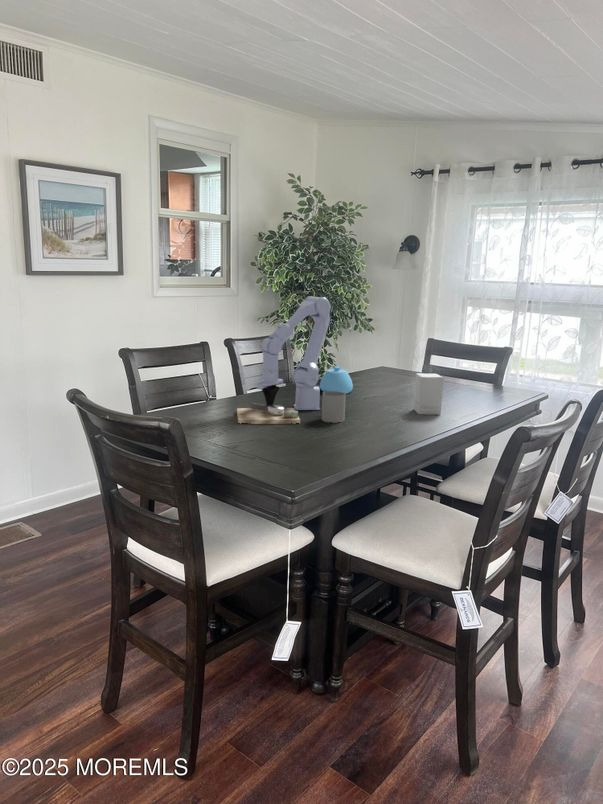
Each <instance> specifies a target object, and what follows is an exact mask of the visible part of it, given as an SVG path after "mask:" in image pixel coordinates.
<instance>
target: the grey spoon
mask: <svg viewBox="0 0 603 804" xmlns="http://www.w3.org/2000/svg"><path fill="white" fill-rule="evenodd" d="M250 408H251V409H256V410H262V411H267V412H268V414H269V415H283V414H284V408H285V407H284V406H283V405H278V404H277V405H275V404H273V405H272V406H270V405H267V404H262V403H256V402H251V403H250Z"/></svg>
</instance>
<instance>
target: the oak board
mask: <svg viewBox="0 0 603 804" xmlns="http://www.w3.org/2000/svg"><path fill="white" fill-rule="evenodd" d="M236 414H237V415H236V416H237V424H238V423H240V424H239V425H242V424H241V423H248V424H247V425H272V424H273V425H279V424H281V425H284V424H285V425H286V424H287V425H291V423H292V425H293V424H294V425H295V424H296V423H299V424H301V418H300V416H299V410H296V409H295V407H284V414H283V415H269V414H268V412H267V411H262V410H256V409H251V407H244V408H243V407H237V408H236ZM249 423H250V424H249Z"/></svg>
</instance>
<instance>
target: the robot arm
mask: <svg viewBox="0 0 603 804" xmlns="http://www.w3.org/2000/svg"><path fill="white" fill-rule="evenodd" d="M331 309H332V305H331V303H330V301H329V299H328V298H327V297H324V296H322V297H320V296H312V295H308V296H306V297H305V298H304V300H303V301H301V302H300V305H299V306H298V308H297V310H296V311H295V312H294V313H293V314H292V315H291V317H290V318H289V319H288V320H287V322H285V323H284V322H283V323H280V324H278V325H277V326H276V327H277V328H276V329H275V330H274V331H273V332H272V333H271V334H269V335H268V337H267V338H264V339H263V340H262V342H261V344H260V345H259V347H260V348H259V349H260V350H261V351H262V379H261V380H260V382H258V383H257V384H256V390H261V391H262V393H263V395H264V396H263V397H264V398H265V402H266V403H265V404H266V405H269V406H272V405H274V403H275V399H276V397H277V394H278V392H279V390H280V386H278V385H283V384H284V379H283V378H279V353H280V352H281V351H282V349H283V345H284V344H286V342H287V341H288V339H290V337H291V336H292V335H293V333H294V332H293V331H294V329H295V328H296V327H297V326H298V325H299V324H300V323H301V322H302V321H303V320H305V319H306V318H307V317H308V316H310V317H311V318H312V320H313V321H314V324H313V326H312V329H311V335H310V337H309V341H308V343H307V346H306V351H305V353H304V356H303V360H301V361H300V362H299V363H298V364H297V367H296V369H294V371H293V373H292V379H293V381H294V383H295V404H293V408H294V409H295V411H317V410H318V411H319V410H320V397H321V393H320V390H321V389H320V386H318V385H317V383H318V382H319V372H320V370H319V368H318V365H317V363H318V360H319V358H320V354H321V350H322V348H323V344H324V341H325V338H326V336H327V331H328V329H329V325H330V322H331V321H330V319H331V316H330V312H331Z"/></svg>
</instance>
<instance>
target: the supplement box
mask: <svg viewBox="0 0 603 804" xmlns="http://www.w3.org/2000/svg"><path fill="white" fill-rule="evenodd" d="M444 378H445V377H443V376H441V375H440V374H438V373H421V372H419V373H415V378H414V379H415V381H414V397H413V398H414V399H413V411H414V412H415V413H417V414H418V415H435V414H436V416H437V415H438V416H439V415H440V416H441V414H442V413H441V412H442V402H443V401H442V400H443V391H444V390H443V389H444Z"/></svg>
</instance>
